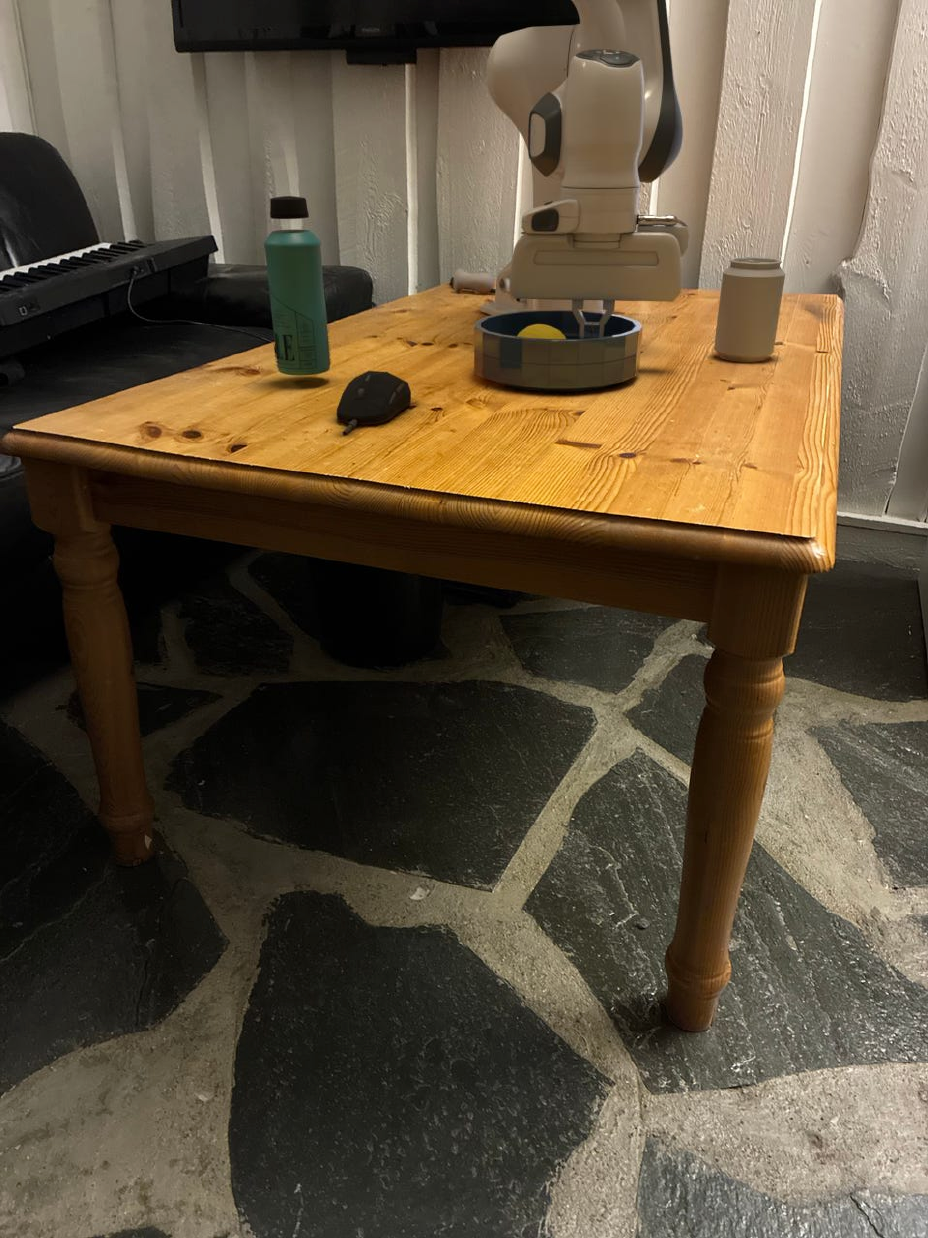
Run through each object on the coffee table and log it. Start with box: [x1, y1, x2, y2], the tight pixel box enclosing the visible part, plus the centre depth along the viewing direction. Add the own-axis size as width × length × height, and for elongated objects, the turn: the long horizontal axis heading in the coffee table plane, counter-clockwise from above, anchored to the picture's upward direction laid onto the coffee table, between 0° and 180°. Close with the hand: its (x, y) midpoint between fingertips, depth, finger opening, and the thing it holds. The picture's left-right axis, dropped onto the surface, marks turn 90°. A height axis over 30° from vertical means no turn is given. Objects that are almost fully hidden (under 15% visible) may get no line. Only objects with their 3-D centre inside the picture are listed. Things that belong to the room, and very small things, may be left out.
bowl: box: [473, 310, 644, 393], centre depth 108 cm, size 20×20×6 cm
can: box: [713, 256, 786, 363], centre depth 115 cm, size 8×8×12 cm
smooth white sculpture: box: [452, 267, 496, 295], centre depth 167 cm, size 4×8×5 cm
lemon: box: [517, 324, 566, 339], centre depth 106 cm, size 6×6×8 cm
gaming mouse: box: [336, 370, 412, 436], centre depth 93 cm, size 6×15×4 cm, turn 166°
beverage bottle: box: [263, 195, 333, 376], centre depth 102 cm, size 6×7×20 cm
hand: (591, 338), depth 111 cm, fingers closed
